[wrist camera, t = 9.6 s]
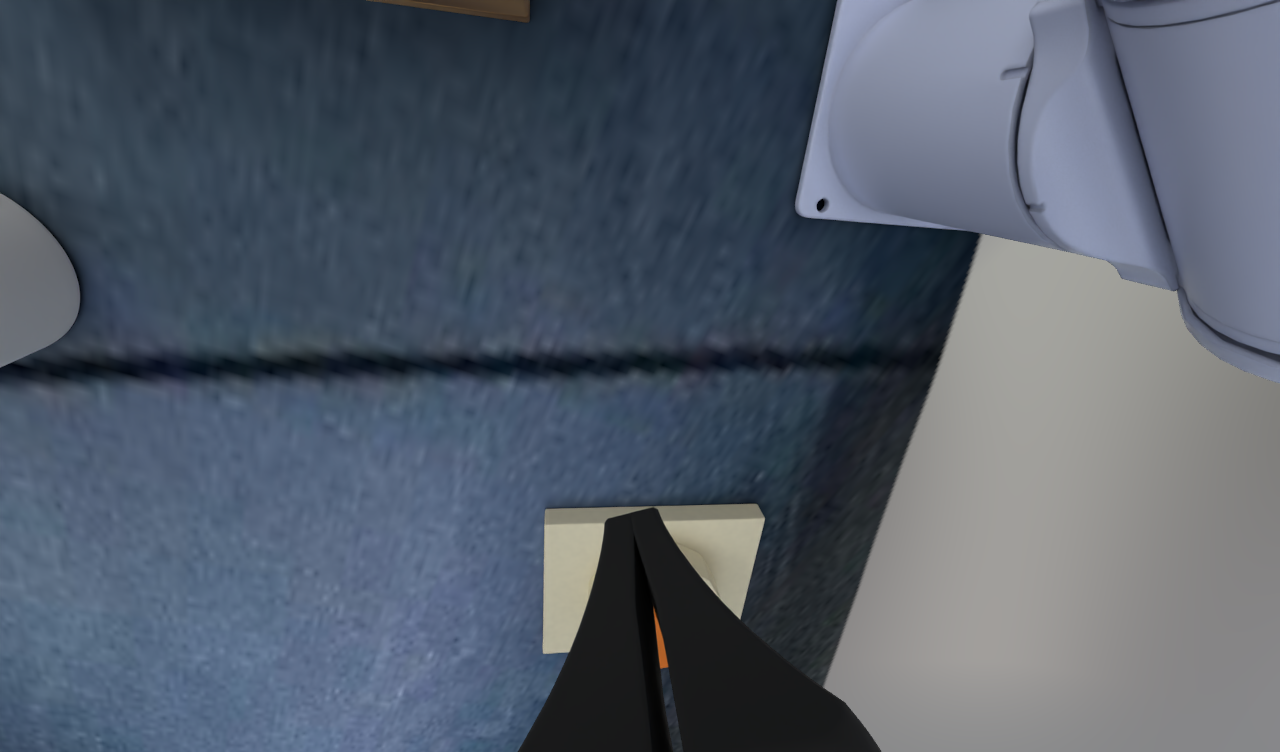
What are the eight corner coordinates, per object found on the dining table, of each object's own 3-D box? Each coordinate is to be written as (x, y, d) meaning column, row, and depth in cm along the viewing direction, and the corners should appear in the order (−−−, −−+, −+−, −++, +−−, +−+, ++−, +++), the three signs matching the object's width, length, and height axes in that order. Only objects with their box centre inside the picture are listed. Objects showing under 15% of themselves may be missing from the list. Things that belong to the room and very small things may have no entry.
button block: (757, 503, 26) (779, 544, 23) (729, 622, 30) (745, 670, 27) (545, 508, 24) (543, 553, 22) (543, 634, 28) (541, 687, 25)
